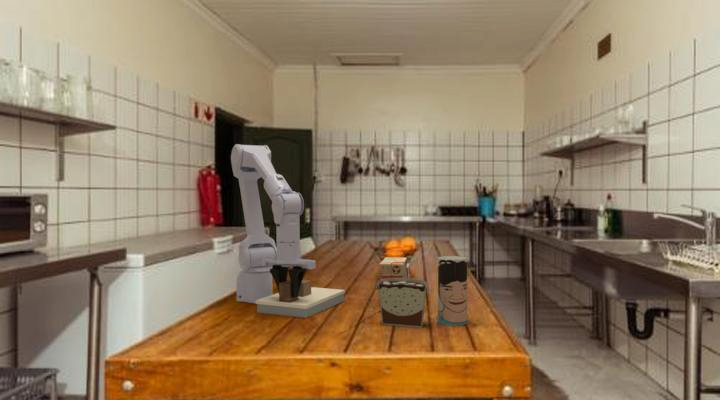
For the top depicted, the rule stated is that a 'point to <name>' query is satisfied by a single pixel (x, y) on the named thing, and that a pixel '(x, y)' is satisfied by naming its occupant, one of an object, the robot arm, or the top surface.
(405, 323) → the food container
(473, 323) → the top surface
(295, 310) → the shallow tray
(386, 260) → the stack of blocks
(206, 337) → the top surface
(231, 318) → the top surface
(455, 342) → the top surface
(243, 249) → the robot arm
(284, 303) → the lid
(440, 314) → the cup
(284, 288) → the walnut key
